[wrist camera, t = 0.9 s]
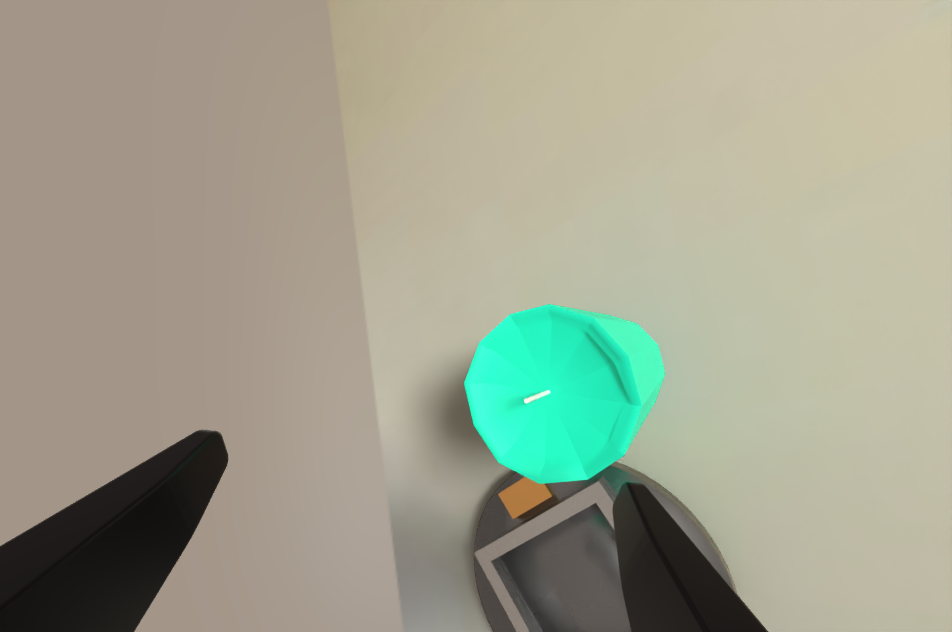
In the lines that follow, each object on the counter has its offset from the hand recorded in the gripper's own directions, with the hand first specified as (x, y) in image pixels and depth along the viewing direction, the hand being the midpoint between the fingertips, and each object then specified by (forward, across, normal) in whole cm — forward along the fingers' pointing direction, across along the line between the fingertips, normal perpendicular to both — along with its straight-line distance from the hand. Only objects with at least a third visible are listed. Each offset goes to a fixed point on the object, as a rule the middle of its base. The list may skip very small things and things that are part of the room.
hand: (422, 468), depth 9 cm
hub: (+6, -9, +16) cm, 19 cm away
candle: (+12, -9, +6) cm, 16 cm away
